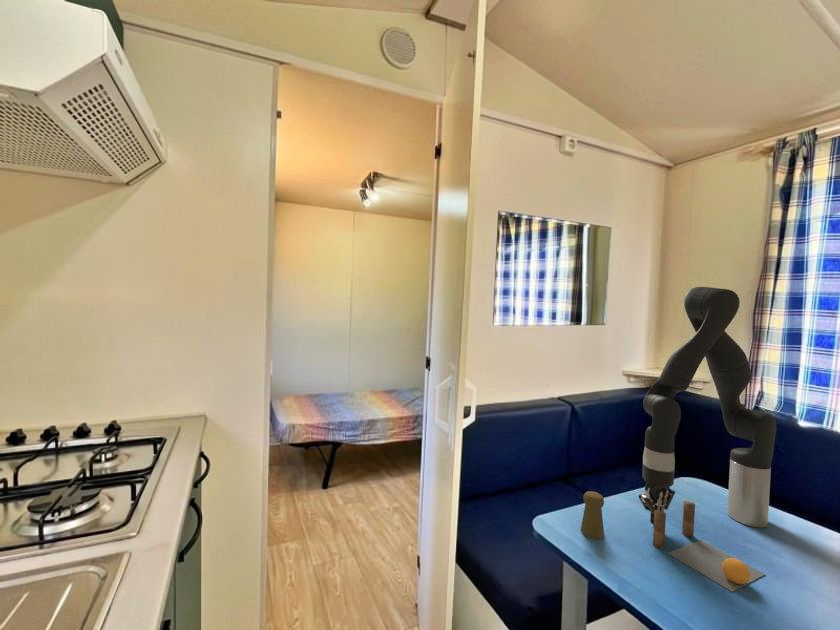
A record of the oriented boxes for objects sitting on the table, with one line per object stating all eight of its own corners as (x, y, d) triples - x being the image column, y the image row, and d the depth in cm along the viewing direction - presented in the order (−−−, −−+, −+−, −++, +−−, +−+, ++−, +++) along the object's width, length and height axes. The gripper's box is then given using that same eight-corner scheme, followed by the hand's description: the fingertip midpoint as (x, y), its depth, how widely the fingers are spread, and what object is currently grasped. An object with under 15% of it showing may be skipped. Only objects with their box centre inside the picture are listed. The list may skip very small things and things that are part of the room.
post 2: (685, 531, 106) (687, 500, 106) (695, 536, 104) (697, 504, 104) (680, 533, 105) (681, 501, 105) (689, 538, 103) (691, 506, 103)
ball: (751, 560, 86) (759, 585, 84) (730, 554, 91) (737, 578, 89) (733, 563, 85) (740, 589, 83) (713, 556, 90) (720, 581, 88)
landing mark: (701, 540, 102) (701, 539, 102) (765, 574, 89) (765, 574, 89) (668, 553, 96) (668, 552, 96) (732, 592, 84) (732, 591, 84)
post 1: (656, 541, 101) (658, 509, 101) (666, 547, 99) (668, 514, 99) (650, 544, 100) (652, 510, 100) (660, 550, 98) (661, 516, 97)
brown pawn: (607, 540, 101) (608, 500, 101) (583, 537, 102) (584, 497, 102) (601, 527, 107) (602, 489, 107) (578, 524, 108) (579, 487, 108)
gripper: (660, 456, 112) (657, 513, 113) (630, 462, 107) (627, 522, 107) (686, 466, 105) (684, 527, 106) (656, 474, 100) (653, 537, 100)
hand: (655, 524), depth 107 cm, fingers closed
